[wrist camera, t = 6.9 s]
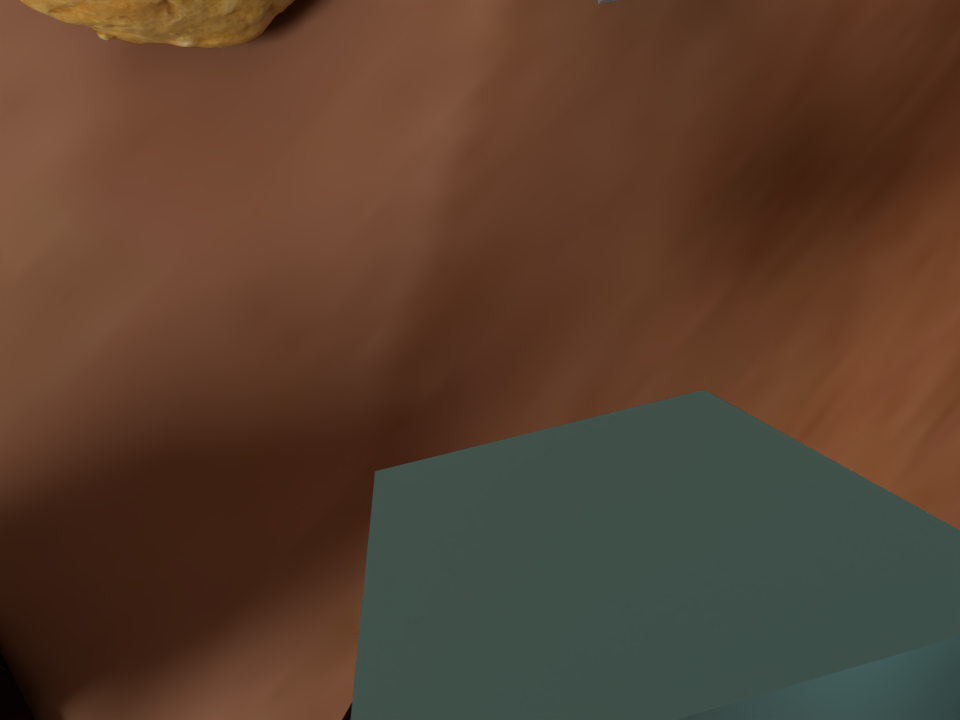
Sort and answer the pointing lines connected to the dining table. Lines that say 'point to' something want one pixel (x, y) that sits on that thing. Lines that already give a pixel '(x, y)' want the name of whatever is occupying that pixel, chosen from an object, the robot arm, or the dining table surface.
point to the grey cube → (605, 1)
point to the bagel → (168, 19)
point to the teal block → (654, 580)
